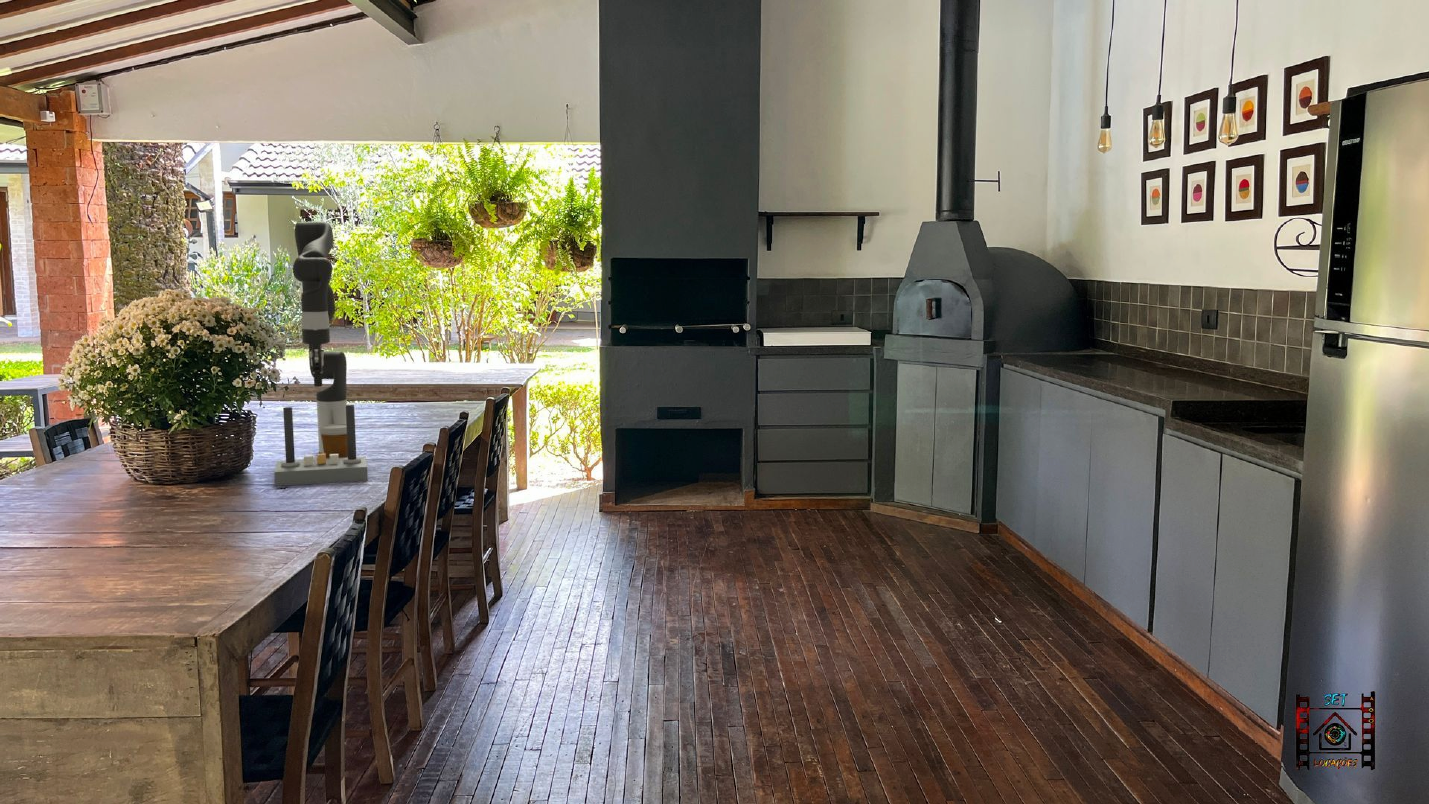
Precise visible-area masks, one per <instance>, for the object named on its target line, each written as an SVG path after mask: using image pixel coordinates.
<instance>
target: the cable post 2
mask: <svg viewBox="0 0 1429 804" xmlns="http://www.w3.org/2000/svg"><path fill="white" fill-rule="evenodd" d="M355 412H356V411H355V405H354V404H347V405H346V426H347V450H348V458H345V459H343V463H345V464H357V463H360V462H361V458H358V457H359V456H357V439H356V438H357V437H356V435H357V434H356V417H355V414H356V413H355Z"/></svg>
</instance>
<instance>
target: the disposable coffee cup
mask: <svg viewBox="0 0 1429 804" xmlns="http://www.w3.org/2000/svg"><path fill="white" fill-rule="evenodd" d="M319 432H320V434H321V437H322V443H323V449H324V453H323V454H325V453H326V459H327V458H330V454H338V457H339V458H346V457H348V450H347V426H346V424H328V425H323V426H321V427H320V430H319Z"/></svg>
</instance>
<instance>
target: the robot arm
mask: <svg viewBox="0 0 1429 804" xmlns="http://www.w3.org/2000/svg"><path fill="white" fill-rule="evenodd" d="M294 239H295V245H296V246H295V247H296V249H297V250H296V251H297V258H296V259H295V260H294V262H293V265H292V273H293V276H294V277H293V278H295V279H296V280H297V281H298V282H301V283H302V285H301V287H302V293H301V295H300V296H301V297H300V298H301V299H300V300H301V319H300V320H301V321H300V322H301V342H302V343H303V344H304V345H308V359H309V370H310V374H311V377H312V378H313V384H314V385H313V386H314V387H316V388H317V387H323V380H333V383H332V384H331V385H330V386H328V387H326V388H323V389H320V390H318V391H317V392H316V395H315V397H316V415H317V417H316V418H317V433H318V434H317V437H318V452H319V454H324V449H323V443H322V437H321V434H320V432H319V430H320V427H321V426H323V425H328V424H346V405H348V404H347V403H348V402H347V391H348V389H347V387H348V386H347V370H348V369H347V367H348V366H347V365H348V364H347V357H346V354H345V353H344V352H343V351H341V350H325V349H323V348H322V345H326V344H329V343H330V342H331V336H330V335H331V334H330V324H331V322H332V320H333V319H334V316H335V314H336V303H335V293H334V289H333V288H332V287H331V285H330V281H331V279H332V275H333V265H332V263H331V261H330V259H328V258H327V256H328V254H330V252H331V251H332V249H333V247H334V232H333V228H332V225H331V224H330V223H329V222H328V221H323V220H322V221H321V220H319V221H301V222H299V221H298V222H297V223H295V225H294Z"/></svg>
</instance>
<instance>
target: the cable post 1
mask: <svg viewBox="0 0 1429 804" xmlns="http://www.w3.org/2000/svg"><path fill="white" fill-rule="evenodd" d="M282 410H283V411H282V413H283V428H284V448H285V460H283V461H284V462H281V467H297V466H300V461H295V460H296V458H295V441H294V440H295V438H294V437H295V436H294V419H293V418H294V415H293V407H292V406H291V407H289V406H287V407H286V406H285V407H283V408H282Z"/></svg>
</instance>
